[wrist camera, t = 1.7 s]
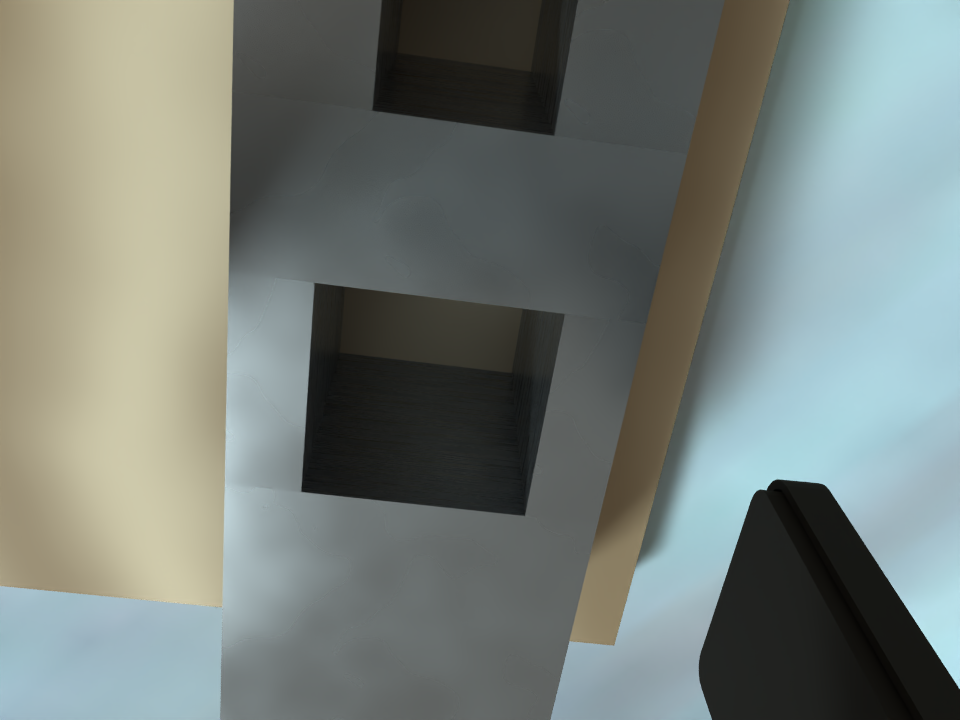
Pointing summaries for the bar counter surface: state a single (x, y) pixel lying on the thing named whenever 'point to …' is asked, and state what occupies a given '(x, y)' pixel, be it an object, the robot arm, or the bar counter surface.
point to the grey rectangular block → (424, 386)
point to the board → (205, 274)
